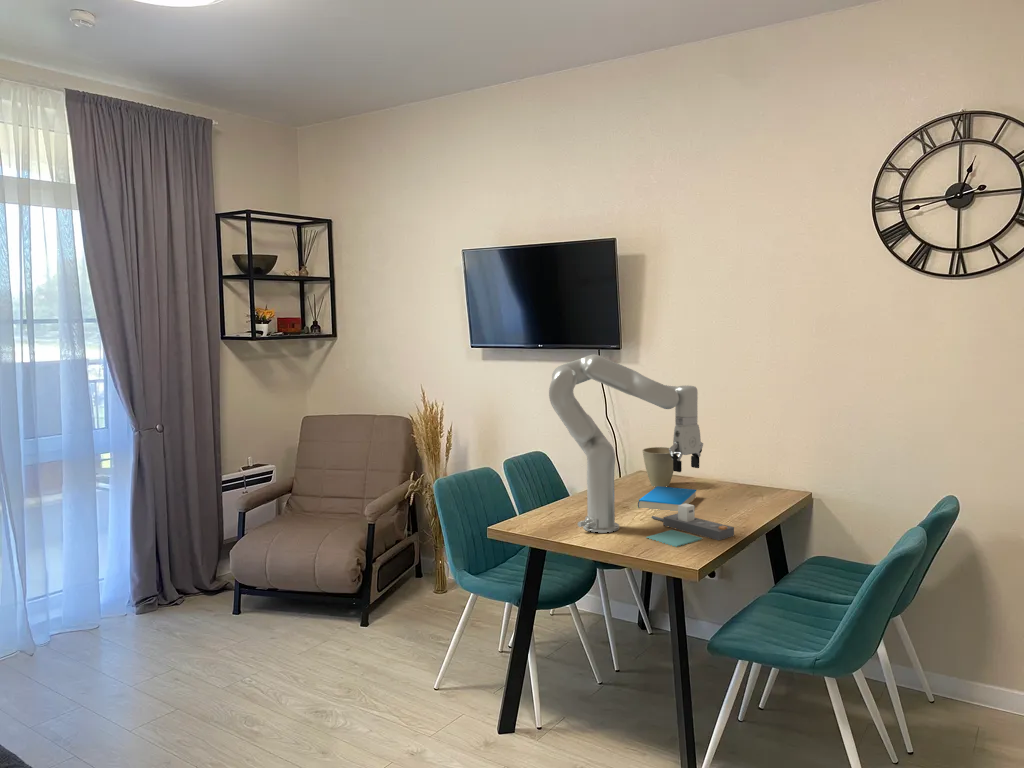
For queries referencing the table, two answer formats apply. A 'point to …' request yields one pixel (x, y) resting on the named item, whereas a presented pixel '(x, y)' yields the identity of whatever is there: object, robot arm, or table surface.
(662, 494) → the book
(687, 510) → the charger plug
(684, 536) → the mat
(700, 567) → the table surface
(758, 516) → the table surface
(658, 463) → the plant pot
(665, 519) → the power strip
